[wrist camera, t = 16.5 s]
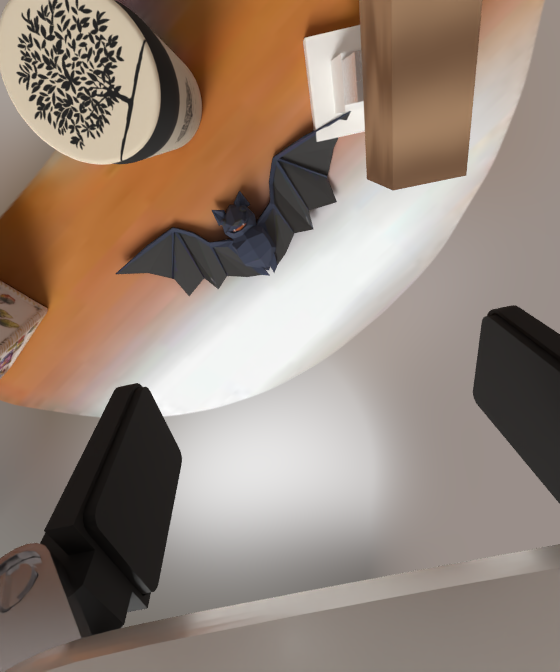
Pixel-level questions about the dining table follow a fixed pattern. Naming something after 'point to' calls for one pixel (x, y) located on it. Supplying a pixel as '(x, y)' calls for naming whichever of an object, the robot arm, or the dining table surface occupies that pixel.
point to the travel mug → (96, 80)
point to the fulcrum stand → (335, 81)
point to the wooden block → (418, 88)
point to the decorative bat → (248, 223)
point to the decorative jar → (16, 323)
